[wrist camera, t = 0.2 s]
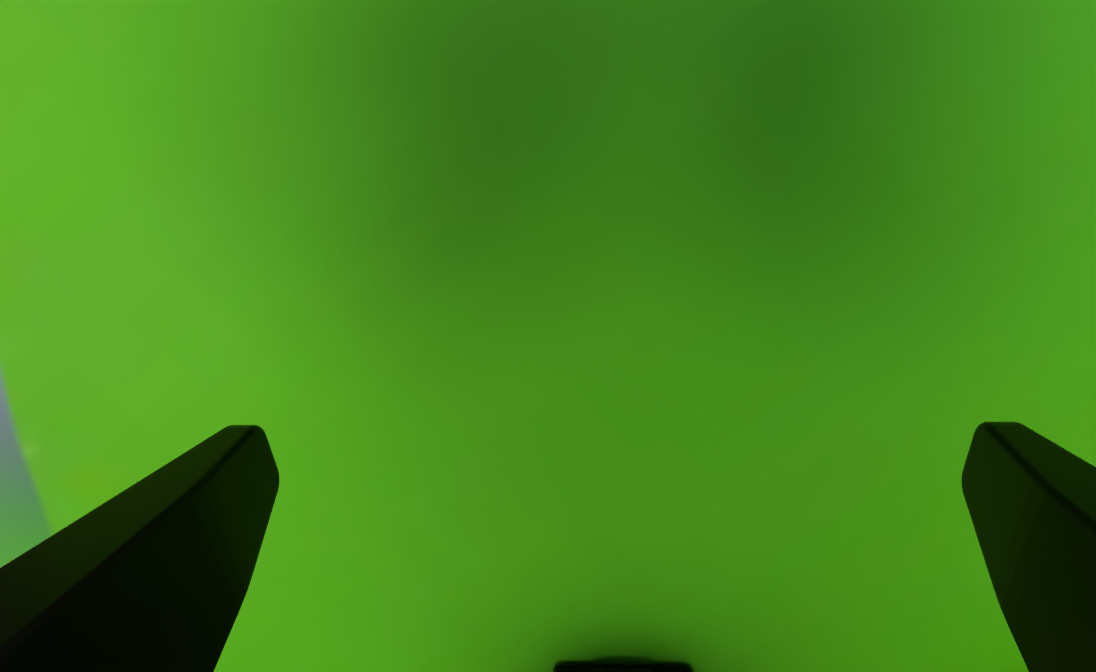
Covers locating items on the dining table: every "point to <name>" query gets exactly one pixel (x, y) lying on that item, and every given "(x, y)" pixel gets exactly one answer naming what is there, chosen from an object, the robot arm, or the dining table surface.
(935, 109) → the dining table surface
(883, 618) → the dining table surface
